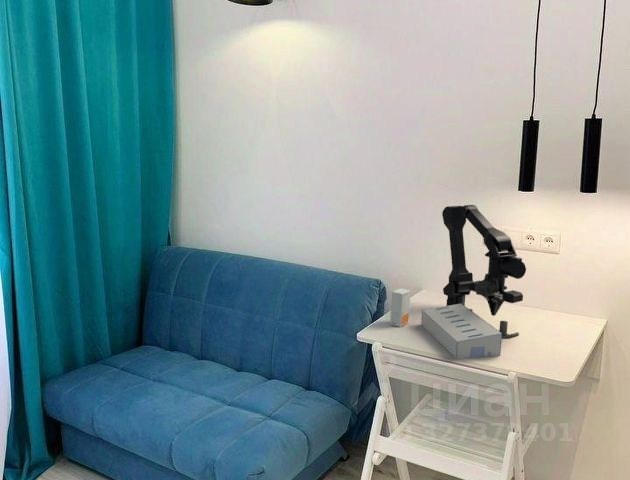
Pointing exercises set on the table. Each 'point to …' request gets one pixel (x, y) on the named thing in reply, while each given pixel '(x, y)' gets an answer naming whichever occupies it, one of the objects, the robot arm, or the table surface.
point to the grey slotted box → (462, 331)
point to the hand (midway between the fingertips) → (493, 315)
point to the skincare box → (400, 307)
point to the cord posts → (504, 329)
